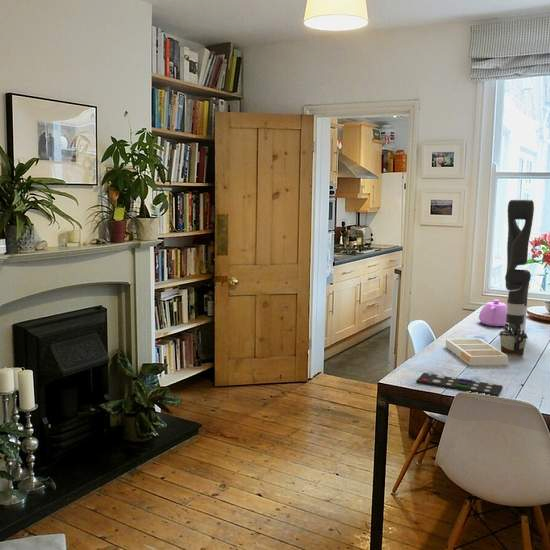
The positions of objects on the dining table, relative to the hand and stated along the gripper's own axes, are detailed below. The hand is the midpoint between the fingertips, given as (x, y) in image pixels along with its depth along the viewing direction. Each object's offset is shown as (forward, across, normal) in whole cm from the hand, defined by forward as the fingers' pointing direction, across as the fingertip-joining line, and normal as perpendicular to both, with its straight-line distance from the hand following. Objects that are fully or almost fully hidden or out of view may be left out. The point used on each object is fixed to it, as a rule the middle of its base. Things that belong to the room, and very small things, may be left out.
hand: (512, 348), depth 275 cm
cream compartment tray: (+3, -2, +19) cm, 19 cm away
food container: (+3, +1, 0) cm, 3 cm away
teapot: (+2, +55, -19) cm, 58 cm away
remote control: (+4, -41, +42) cm, 58 cm away
